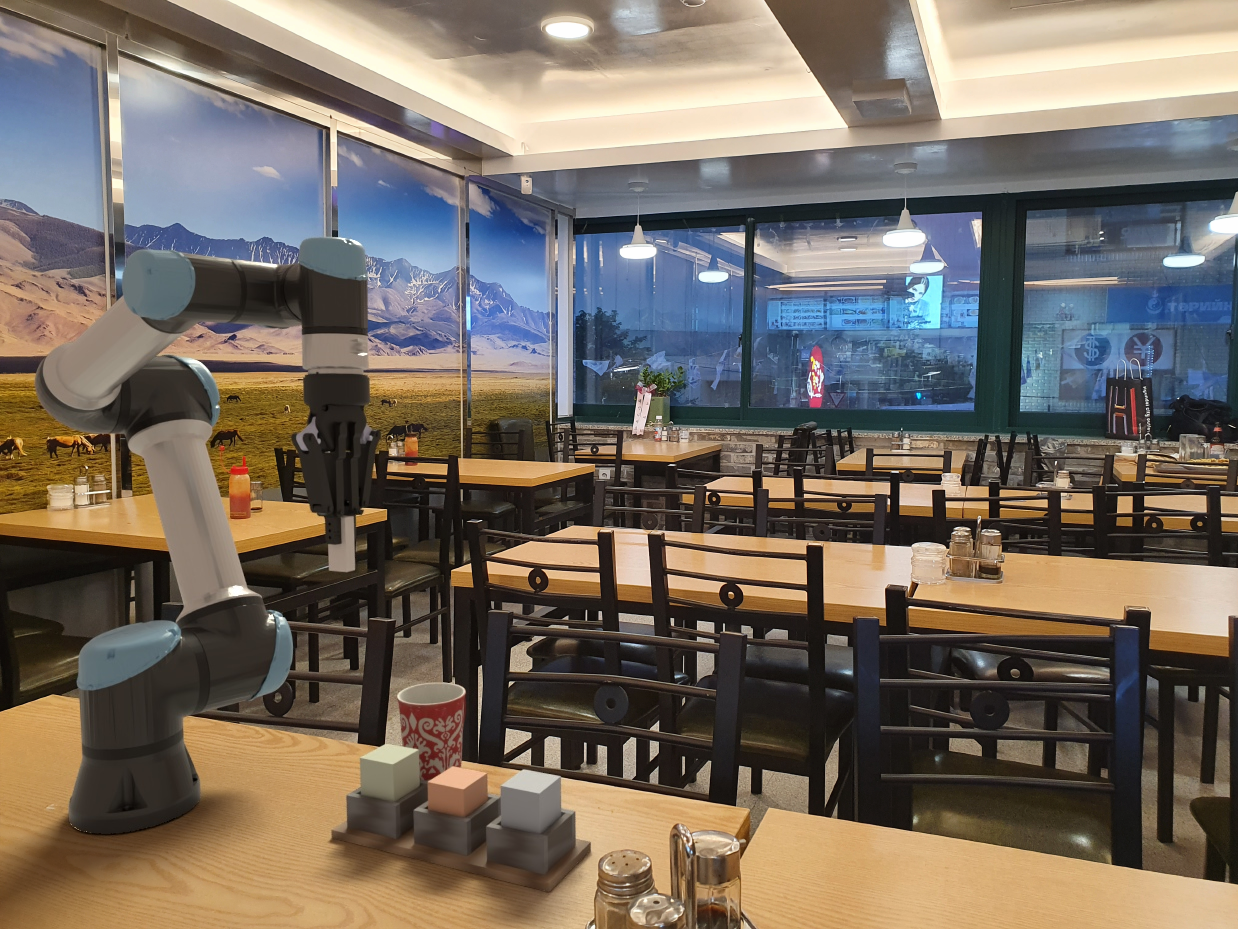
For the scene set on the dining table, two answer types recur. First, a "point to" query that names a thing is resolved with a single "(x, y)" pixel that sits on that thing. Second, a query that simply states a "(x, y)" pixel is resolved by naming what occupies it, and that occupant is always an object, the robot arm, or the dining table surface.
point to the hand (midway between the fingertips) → (342, 570)
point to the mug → (433, 725)
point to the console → (464, 838)
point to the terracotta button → (457, 791)
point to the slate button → (531, 801)
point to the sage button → (389, 772)
